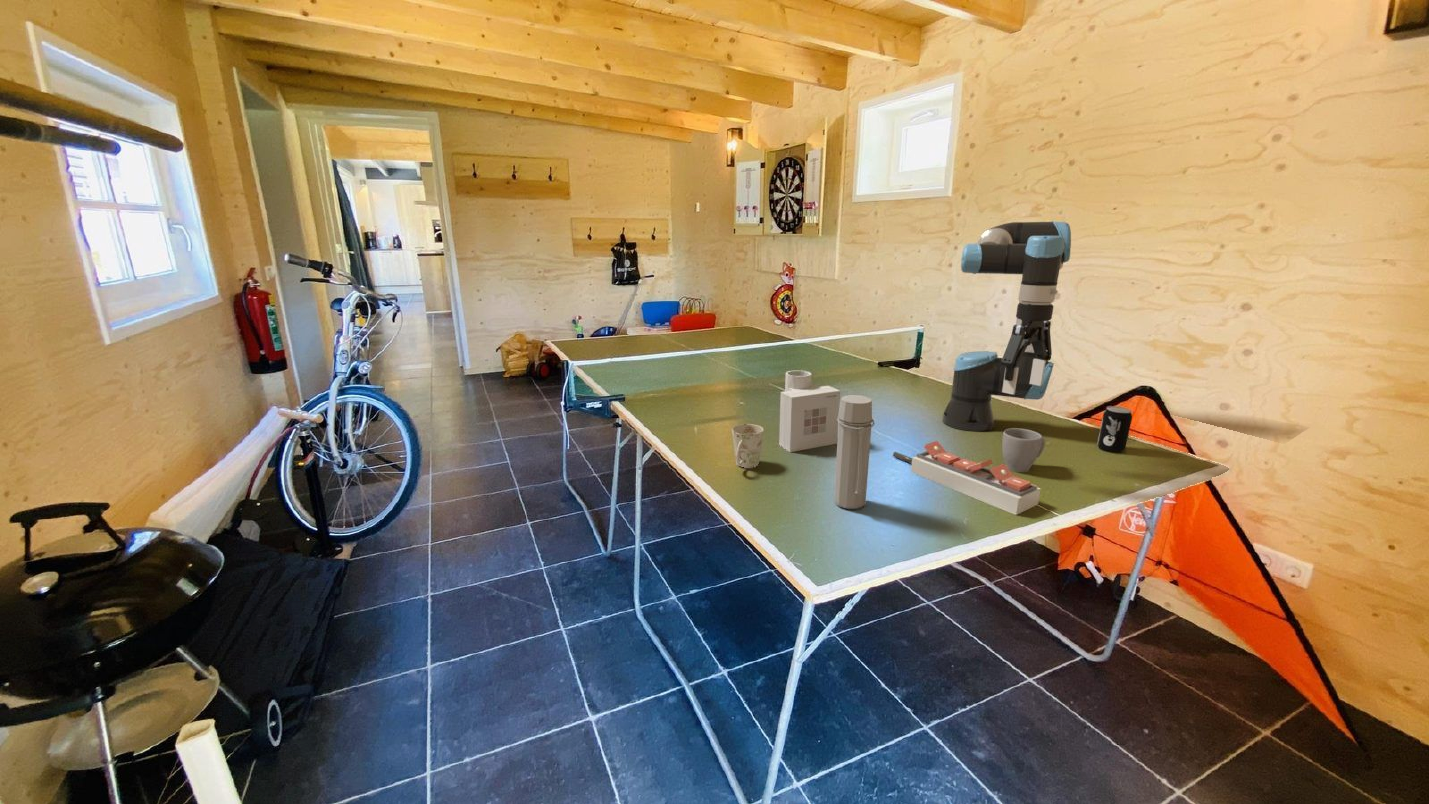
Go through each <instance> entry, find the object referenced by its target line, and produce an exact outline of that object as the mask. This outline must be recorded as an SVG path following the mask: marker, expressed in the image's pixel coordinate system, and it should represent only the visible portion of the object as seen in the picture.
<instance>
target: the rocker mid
mask: <svg viewBox="0 0 1429 804" xmlns="http://www.w3.org/2000/svg"><path fill="white" fill-rule="evenodd" d="M993 464H994V462H993V460H992V459H988V460H985V461H981V462H975V461H971V460H970V459H968V458H967V459H966V458H963V459H961V460H959V461H956V462H954V463H953V467H955V468H958V469H960V470H963V471H965V472H968V473H972V472H975V471H977V470H980V469H982V468H983V467H984V468H987V467H988V466H991V465H993Z"/></svg>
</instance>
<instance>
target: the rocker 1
mask: <svg viewBox="0 0 1429 804" xmlns="http://www.w3.org/2000/svg"><path fill="white" fill-rule="evenodd" d="M923 447H924V449H925V450H926V451H928V453H929V454H930V455H931V456H932V457H931V458H932V459H934V460H936V461H939V462H942V463H944V464H947V465H950V464H952V463H954V462H956V461H959V459H961V457H960V456H958V455H956V454H952V453H950V452H948V451H947V450H945V449H944V447H943V446H942V445H941V444H940V442H939V440H935V441H933V442H932V441H931V442H930V443H926V444H925V445H924V446H923Z"/></svg>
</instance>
